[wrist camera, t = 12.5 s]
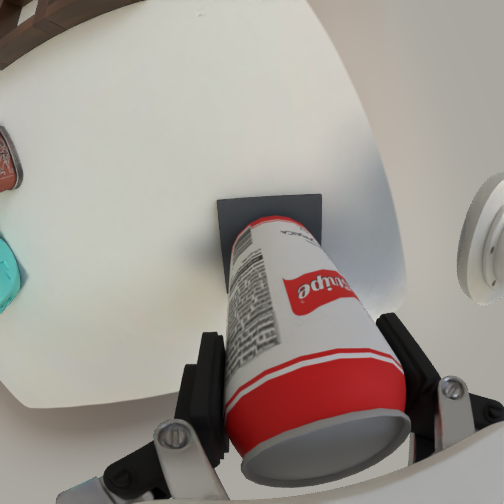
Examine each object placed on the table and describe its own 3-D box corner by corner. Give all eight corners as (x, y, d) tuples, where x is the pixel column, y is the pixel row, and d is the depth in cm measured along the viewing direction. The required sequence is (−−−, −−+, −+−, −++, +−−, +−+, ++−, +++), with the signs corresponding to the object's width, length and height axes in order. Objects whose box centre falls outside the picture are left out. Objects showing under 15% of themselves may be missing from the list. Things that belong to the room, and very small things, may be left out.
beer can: (264, 194, 19) (344, 369, 4) (329, 242, 20) (454, 413, 6) (215, 262, 21) (181, 474, 6) (279, 301, 22) (323, 493, 7)
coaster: (320, 193, 20) (322, 194, 20) (318, 284, 23) (319, 286, 23) (217, 199, 20) (216, 200, 20) (227, 291, 23) (226, 294, 23)
